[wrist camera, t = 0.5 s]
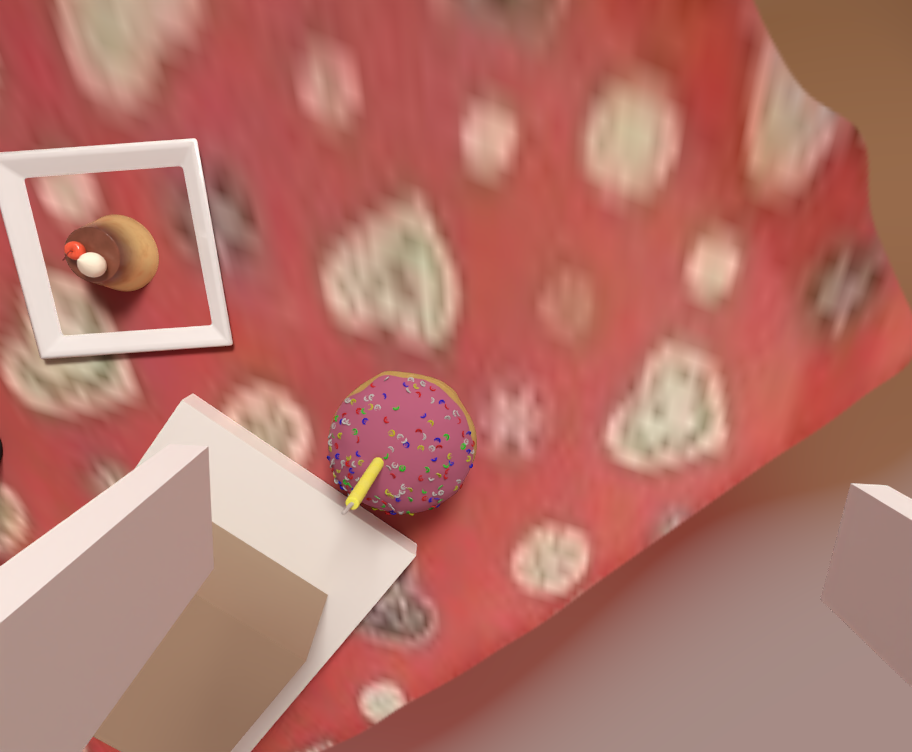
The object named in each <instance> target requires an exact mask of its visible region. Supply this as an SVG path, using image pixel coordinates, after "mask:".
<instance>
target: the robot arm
mask: <svg viewBox="0 0 912 752" xmlns="http://www.w3.org/2000/svg"><path fill="white" fill-rule="evenodd" d="M213 569H214V559H213V537H212V514H211V492H210V469H209V447H208V446H198V445H180V444H169V445H167V446H166V447H165V448H163V449H162V450H161V451H159V452H158V453H156V454H155V455H154V456H152V457H151V458H149V459H148V460H147V461H145V462H144V463H143V464H141V465H140V466H138V467H137V468H136V469H134V470H133V471H131V472H130V473H129V474H127V475H126V476H125V477H123V478H122V479H120V480H119V481H118V482H116V483H115V484H114V485H112V486H111V487H109V488H108V489H107V490H105V491H104V492H102V493H101V494H100V495H98V496H97V497H96V498H94V499H93V500H91V501H90V502H89V503H87V504H86V505H84V506H83V507H82V508H80V509H79V510H78V511H76V512H75V513H73V514H72V515H71V516H69V517H68V518H67V519H65V520H64V521H62V522H61V523H60V524H58V525H57V526H55V527H54V528H53V529H51V530H50V531H49V532H47V533H46V534H44V535H43V536H42V537H40V538H39V539H38V540H36V541H35V542H33V543H32V544H31V545H29V546H28V547H26V548H25V549H24V550H22V551H21V552H20V553H18V554H17V555H15V556H14V557H13V558H11V559H10V560H8V561H7V562H6V563H4V564H3V565H2V566H0V752H82V751H83V749H84V748H85V746H86V745H87V744H88V742H89V741H90V740H91V738H92V737H93V735H94V734H95V733H96V731H97V730H98V728H99V727H100V726H101V724H102V723H103V721H104V720H105V719H106V717H107V716H108V715H109V713H110V712H111V710H112V709H113V708H114V706H115V705H116V703H117V702H118V701H119V699H120V698H121V696H122V695H123V694H124V692H125V691H126V690H127V688H128V687H129V685H130V684H131V683H132V681H133V680H134V678H135V677H136V676H137V674H138V673H139V672H140V670H141V669H142V667H143V666H144V665H145V663H146V662H147V660H148V659H149V658H150V656H151V655H152V653H153V652H154V651H155V649H156V648H157V647H158V645H159V644H160V642H161V641H162V640H163V638H164V637H165V635H166V634H167V633H168V631H169V630H170V628H171V627H172V626H173V624H174V623H175V622H176V620H177V619H178V617H179V616H180V615H181V613H182V612H183V610H184V609H185V608H186V606H187V605H188V603H189V602H190V601H191V599H192V598H193V597H194V595H195V594H196V592H197V591H198V590H199V588H200V587H201V585H202V584H203V583H204V581H205V580H206V578H207V577H208V576H209V574H210V573H211V572H212V570H213ZM821 601H823V602H824V603H825V604H826V605H827V606H828V607H829V608H830V609H831V610H832V611H833V612H834V613H835V614H836V615H837V616H838V617H839V618H840V619H841V620H842V621H843V622H844V623H845V624H846V625H847V626H848V627H849V628H851V629H852V630H853V631H854V632H855V633H856V634H857V635H858V636H859V637H860V638H861V639H862V640H863V641H864V642H865V643H866V644H867V645H868V646H869V647H870V648H871V649H872V650H873V651H874V652H875V653H876V654H877V655H878V656H879V657H881V658H882V659H883V660H884V661H885V662H886V663H887V664H888V665H889V666H890V667H891V668H892V669H893V670H894V671H895V672H896V673H897V674H898V675H899V676H900V677H901V678H903V680H904V681H905V682H907V683H908V684H909V685H910V686H911V687H912V499H910V498H909V497H907V496H905V495H903V494H901V493H899V492H898V491H896V490H894V489H892V488H891V487H889V486H887V485H871V484H853V483H851V484H850V489H849V492H848V496H847V500H846V504H845V507H844V511H843V515H842V519H841V523H840V527H839V530H838V535H837V538H836V542H835V546H834V550H833V554H832V558H831V561H830V565H829V569H828V573H827V576H826V580H825V584H824V588H823V592H822V596H821Z"/></svg>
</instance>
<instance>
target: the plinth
mask: <svg viewBox="0 0 912 752" xmlns="http://www.w3.org/2000/svg"><path fill="white" fill-rule="evenodd" d="M169 444H180V445H198V446H208V447H209V469H210V492H211V514H212V537H213V559H214V569H213V570H212V572H211V573H210V574H209V576H208V577H207V578H206V580H205V581H204V583H203V584H202V585H201V587H200V588H199V590H198V591H197V592H196V594H195V595H194V597H193V598H192V599H191V601H190V602H189V603H188V605H187V606H186V608H185V609H184V610H183V612H182V613H181V615H180V616H179V617H178V619H177V620H176V622H175V623H174V624H173V626H172V627H171V628H170V630H169V631H168V633H167V634H166V635H165V637H164V638H163V640H162V641H161V642H160V644H159V645H158V647H157V648H156V649H155V651H154V652H153V653H152V655H151V656H150V658H149V659H148V660H147V662H146V663H145V665H144V666H143V667H142V669H141V670H140V672H139V673H138V674H137V676H136V677H135V678H134V680H133V681H132V683H131V684H130V685H129V687H128V688H127V690H126V691H125V692H124V694H123V695H122V696H121V698H120V699H119V701H118V702H117V703H116V705H115V706H114V708H113V709H112V710H111V712H110V713H109V715H108V716H107V717H106V719H105V720H104V721H103V723H102V724H101V726H100V727H99V728H98V730H97V731H96V733H95V734H94V735H93V737H95V738H97V739H99V740H100V741H102V742H104V743H106V744H108V745H110V746H112V747H114V748H115V749H117V750H119V751H121V752H251V751H252V749H253V748H254V747H255V746H256V745H257V744H258V742H259V741H260V740H261V739H262V738H263V736H264V735H265V734H266V733H267V732H268V731H269V729H270V728H271V727H272V726H273V725H274V723H275V722H276V721H277V720H278V719H279V718H280V716H281V715H282V714H283V713H284V712H285V710H286V709H287V708H288V707H289V706H290V705H291V703H292V702H293V701H294V700H295V699H296V697H297V696H298V695H299V694H300V693H301V691H302V690H303V689H304V688H305V687H306V686H307V684H308V683H309V682H310V681H311V680H312V678H313V677H314V676H315V675H316V674H317V673H318V671H319V670H320V669H321V668H322V667H323V665H324V664H325V663H326V662H327V661H328V660H329V658H330V657H331V656H332V655H333V654H334V652H335V651H336V650H337V649H338V648H339V647H340V645H341V644H342V643H343V642H344V641H345V639H346V638H347V637H348V636H349V635H350V634H351V632H352V631H353V630H354V629H355V628H356V626H357V625H358V624H359V623H360V622H361V620H362V619H363V618H364V617H365V616H366V615H367V613H368V612H369V611H370V610H371V609H372V607H373V606H374V605H375V604H376V603H377V602H378V600H379V599H380V598H381V597H382V596H383V594H384V593H385V592H386V591H387V590H388V589H389V587H390V586H391V585H392V584H393V583H394V581H395V580H396V579H397V578H398V577H399V576H400V574H401V573H402V572H403V571H404V570H405V568H406V567H407V566H408V565H409V564H410V563H411V561H412V560H413V559H414V558H415V557H416V549H417V544H416V543H415V542H413V541H412V540H410V539H409V538H407V537H406V536H404V535H403V534H401V533H400V532H398V531H397V530H395V529H394V528H392V527H391V526H389V525H388V524H386V523H385V522H384V521H382V520H381V519H379V518H378V517H376V516H375V515H373V514H372V513H370V512H369V511H367V510H366V509H364V508H363V507H361V506H360V505H359V507H358V508H357V509H355V510H351V509H349V511H348V512H347V513H346V514H345V515H342V514H341V512H342V511H343V510H344V509H345V507H346V504H345V502H346V499H347V498H348V497H346V496H345V495H343V494H342V493H340V492H339V491H337V490H336V489H334V488H333V487H331V486H330V485H329V484H327V483H326V482H324V481H323V480H321V479H320V478H318V477H317V476H315V475H314V474H312V473H311V472H309V471H308V470H306V469H305V468H303V467H302V466H300V465H299V464H297V463H296V462H294V461H293V460H291V459H290V458H288V457H287V456H285V455H284V454H282V453H281V452H279V451H278V450H276V449H275V448H274V447H272V446H271V445H269V444H268V443H266V442H265V441H263V440H262V439H260V438H259V437H257V436H256V435H254V434H253V433H251V432H250V431H248V430H247V429H245V428H244V427H242V426H241V425H239V424H238V423H236V422H235V421H233V420H232V419H230V418H229V417H227V416H226V415H224V414H223V413H221V412H220V411H219V410H217V409H216V408H214V407H213V406H211V405H210V404H208V403H207V402H205V401H204V400H202V399H201V398H199V397H198V396H196V395H195V394H191V395H189V396H188V397H186V398H184V399H183V400H182V401H181V402H180V404H179V405H178V406H177V408H176V409H175V411H174V412H173V414H172V415H171V417H170V418H169V420H168V421H167V423H166V424H165V426H164V427H163V428H162V430H161V431H160V433H159V434H158V436H157V437H156V439H155V440H154V442H153V443H152V445H151V446H150V447H149V449H148V450H147V452H146V453H145V455H144V456H143V458H142V459H141V461H140V462H139V464H138V465H137V467H138V466H140V465H141V464H143V463H144V462H145V461H147V460H148V459H149V458H151V457H152V456H154V455H155V454H156V453H158V452H159V451H161V450H162V449H163V448H165V447H166V446H167V445H169ZM137 467H136V468H137ZM136 468H135V469H136Z"/></svg>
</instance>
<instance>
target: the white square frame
mask: <svg viewBox="0 0 912 752" xmlns="http://www.w3.org/2000/svg"><path fill="white" fill-rule="evenodd" d="M173 166H181V167H182V168H183V170H184V175H185V180H186V186H187V191H188V196H189V202H190V207H191V212H192V218H193V223H194V228H195V234H196V239H197V244H198V250H199V255H200V260H201V266H202V271H203V276H204V282H205V287H206V292H207V298H208V303H209V308H210V314H211V319H212V324H211V325H210V326H196V327H181V328H167V329H152V330H138V331H124V332H109V333H95V334H81V335H63V334H62V332H61V328H60V324H59V320H58V316H57V311H56V307H55V303H54V299H53V295H52V291H51V287H50V283H49V279H48V275H47V271H46V267H45V263H44V259H43V255H42V251H41V247H40V243H39V239H38V235H37V231H36V227H35V223H34V219H33V215H32V211H31V207H30V203H29V199H28V194H27V190H26V186H25V182H24V180H25V178H30V177H43V176H56V175H69V174H82V173H95V172H108V171H121V170H134V169H147V168H160V167H173ZM0 209H1V213H2V217H3V221H4V224H5V228H6V232H7V235H8V239H9V243H10V247H11V250H12V254H13V258H14V262H15V265H16V269H17V273H18V277H19V280H20V284H21V288H22V292H23V295H24V299H25V303H26V306H27V310H28V314H29V318H30V321H31V325H32V329H33V333H34V336H35V340H36V344H37V348H38V351H39V355H40V358H41V359H55V358H69V357H82V356H96V355H110V354H123V353H137V352H150V351H164V350H178V349H191V348H205V347H218V346H231V345H232V344H233V341H232V335H231V330H230V324H229V318H228V313H227V307H226V301H225V296H224V290H223V284H222V279H221V273H220V267H219V262H218V256H217V250H216V245H215V239H214V233H213V228H212V222H211V216H210V210H209V205H208V199H207V193H206V188H205V182H204V176H203V171H202V165H201V159H200V154H199V148H198V142H197V140H196V139H194V138H192V139H178V140H165V141H151V142H137V143H123V144H110V145H96V146H82V147H68V148H55V149H41V150H27V151H14V152H0ZM64 251H65V257H64V259H65V258H66V261H67V263H68V265H69V267H70V268H71V270H72V271H73V272H74V273H75V274H76V275H77V276H79V277H80V278H82V279H84V280H86V281H89V282H92V283H95V284H99V285H102V286H106V287H109V288H111V289H114V290H118V291H134V290H137V289H140V288H142V287H144V286H145V285H147V284H148V283H149V282H150V281H151V280H152V278H153V277H154V275H155V273H156V271H157V268H158V262H159V255H158V249H157V246H156V243H155V241H154V239H153V237H152V235H151V234H150V233H149V231H148V230H147V229H146V228H145V227H144V226H143V225H142V224H140V223H139V222H137V221H136V220H134V219H132V218H130V217H127V216H123V215H107V216H103V217H101V218H99V219H97V220H95V221H93V222H91V223H89V224H87V225H85V226H83V227H81V228H79V229H77V230H75V231H74V232H72V233H71V234H70V235H69V237H68V238H67V241H66V243H65V247H64ZM64 259H63V260H64Z"/></svg>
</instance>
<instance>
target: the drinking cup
mask: <svg viewBox="0 0 912 752" xmlns="http://www.w3.org/2000/svg"><path fill="white" fill-rule="evenodd" d="M1 457H2V444H1V440H0V460H1Z"/></svg>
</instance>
